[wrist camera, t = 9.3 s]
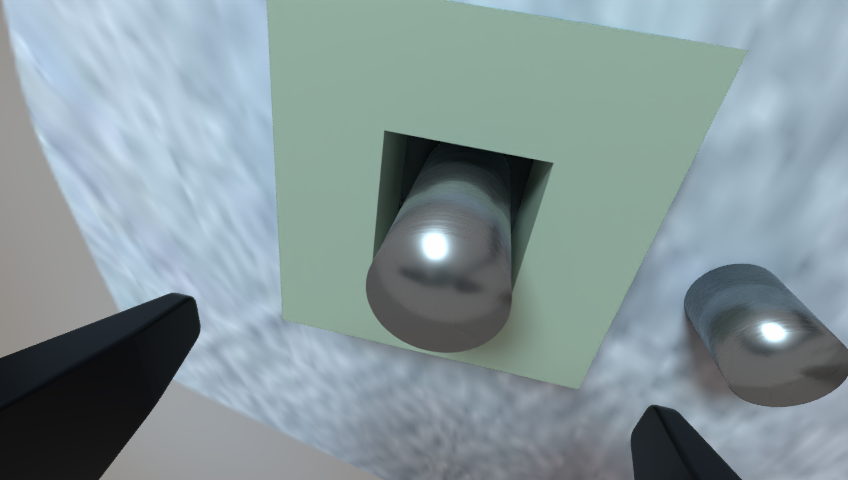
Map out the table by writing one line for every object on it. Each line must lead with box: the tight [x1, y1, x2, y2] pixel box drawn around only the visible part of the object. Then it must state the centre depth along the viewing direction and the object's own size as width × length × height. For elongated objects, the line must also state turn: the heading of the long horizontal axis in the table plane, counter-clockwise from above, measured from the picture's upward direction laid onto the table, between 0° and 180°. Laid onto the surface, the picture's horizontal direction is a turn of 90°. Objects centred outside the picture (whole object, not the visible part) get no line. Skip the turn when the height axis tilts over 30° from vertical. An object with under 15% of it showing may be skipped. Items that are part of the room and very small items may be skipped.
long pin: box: [366, 142, 512, 353], centre depth 13 cm, size 4×4×8 cm
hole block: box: [267, 0, 748, 389], centre depth 15 cm, size 12×12×4 cm
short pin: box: [684, 264, 848, 407], centre depth 15 cm, size 4×4×4 cm
